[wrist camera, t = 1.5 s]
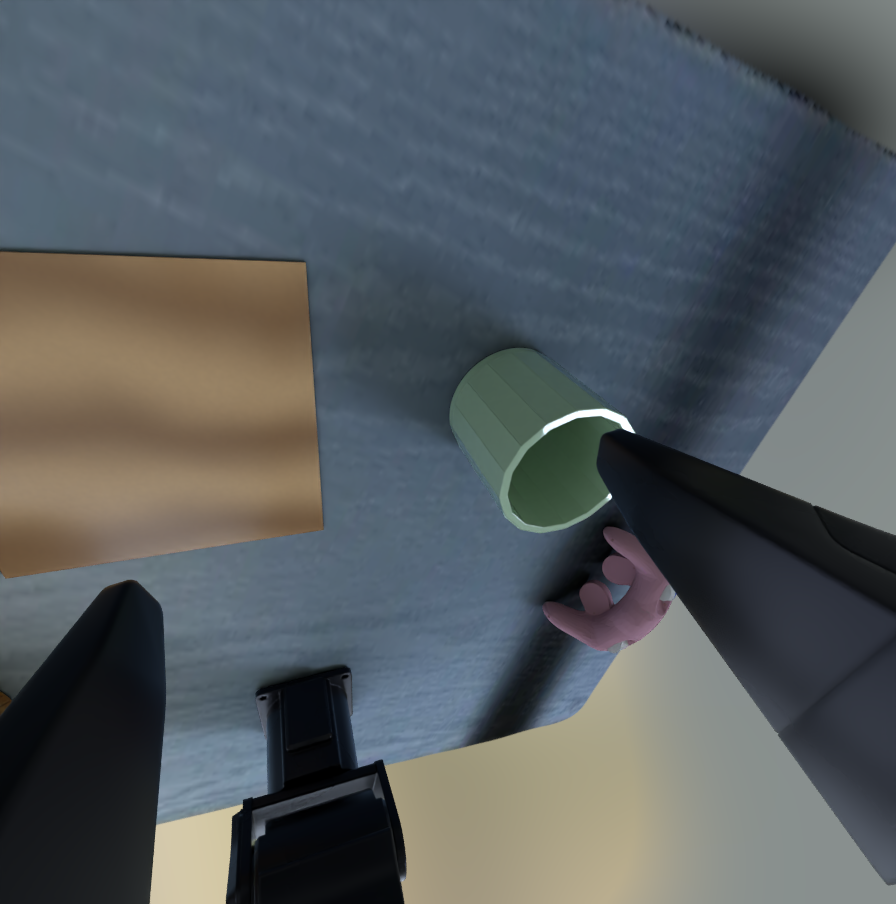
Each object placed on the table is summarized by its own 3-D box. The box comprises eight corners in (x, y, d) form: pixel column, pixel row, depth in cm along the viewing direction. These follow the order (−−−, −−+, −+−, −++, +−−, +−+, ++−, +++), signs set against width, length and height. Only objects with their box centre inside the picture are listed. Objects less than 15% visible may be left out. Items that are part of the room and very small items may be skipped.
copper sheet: (323, 528, 25) (323, 529, 25) (6, 577, 20) (5, 578, 20) (305, 262, 17) (305, 262, 17) (-209, 243, 13) (-213, 244, 13)
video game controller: (555, 596, 40) (621, 659, 37) (533, 612, 37) (604, 684, 33) (623, 513, 37) (702, 575, 33) (606, 522, 33) (693, 593, 30)
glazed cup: (545, 449, 27) (609, 521, 22) (443, 461, 25) (489, 543, 20) (573, 345, 24) (657, 403, 19) (456, 349, 22) (516, 414, 17)
